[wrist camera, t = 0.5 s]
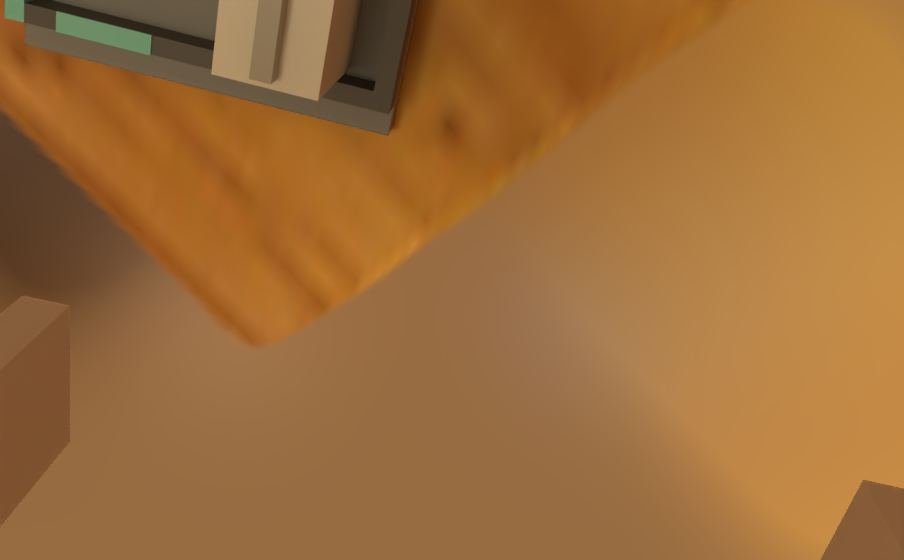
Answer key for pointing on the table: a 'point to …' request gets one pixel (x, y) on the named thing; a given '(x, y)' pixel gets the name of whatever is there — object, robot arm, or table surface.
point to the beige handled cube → (285, 43)
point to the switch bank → (192, 45)
